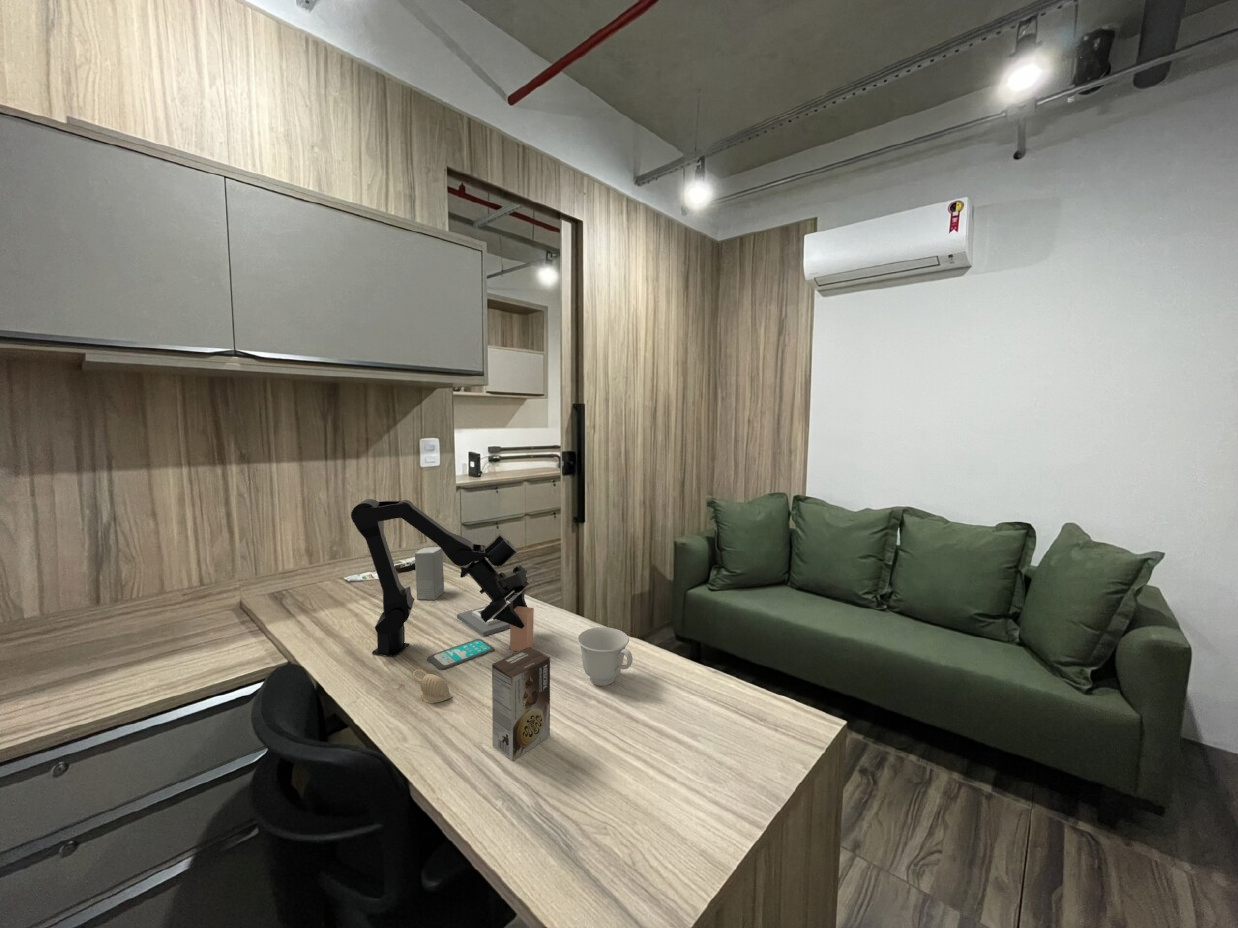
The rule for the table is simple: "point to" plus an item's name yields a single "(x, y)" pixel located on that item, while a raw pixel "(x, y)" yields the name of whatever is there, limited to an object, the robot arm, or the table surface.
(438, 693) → the beige creamer pitcher
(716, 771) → the table surface
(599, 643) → the teacup
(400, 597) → the robot arm
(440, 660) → the smartphone
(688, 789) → the table surface
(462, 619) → the dock board
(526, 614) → the terracotta block
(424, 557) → the skincare box
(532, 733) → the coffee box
